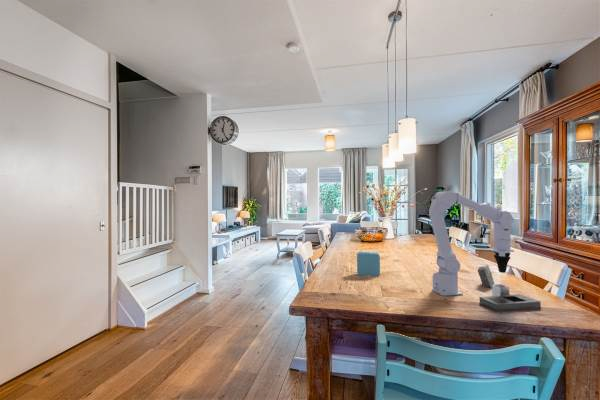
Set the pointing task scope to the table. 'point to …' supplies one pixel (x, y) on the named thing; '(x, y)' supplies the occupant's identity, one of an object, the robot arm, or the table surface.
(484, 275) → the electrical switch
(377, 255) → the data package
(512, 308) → the dark grey flat block
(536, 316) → the table surface
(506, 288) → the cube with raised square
